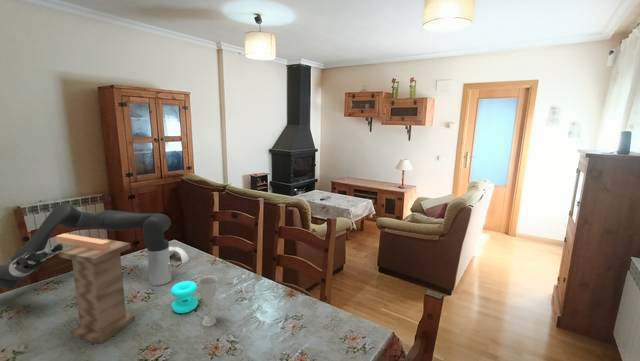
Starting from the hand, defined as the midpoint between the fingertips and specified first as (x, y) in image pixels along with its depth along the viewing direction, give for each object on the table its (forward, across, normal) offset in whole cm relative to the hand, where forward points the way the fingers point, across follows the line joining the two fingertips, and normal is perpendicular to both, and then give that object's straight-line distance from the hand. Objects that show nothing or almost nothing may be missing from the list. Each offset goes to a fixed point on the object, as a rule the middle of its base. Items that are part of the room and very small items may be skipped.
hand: (48, 250), depth 117 cm
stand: (+7, 0, +36) cm, 36 cm away
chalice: (+37, +15, +53) cm, 67 cm away
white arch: (-11, +57, +26) cm, 64 cm away
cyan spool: (+24, +20, +46) cm, 55 cm away
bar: (+18, 0, +5) cm, 19 cm away
